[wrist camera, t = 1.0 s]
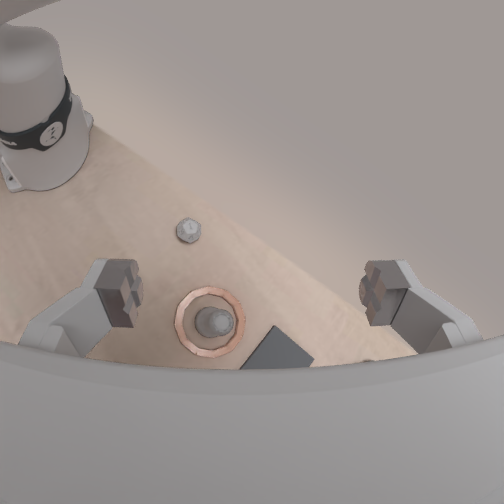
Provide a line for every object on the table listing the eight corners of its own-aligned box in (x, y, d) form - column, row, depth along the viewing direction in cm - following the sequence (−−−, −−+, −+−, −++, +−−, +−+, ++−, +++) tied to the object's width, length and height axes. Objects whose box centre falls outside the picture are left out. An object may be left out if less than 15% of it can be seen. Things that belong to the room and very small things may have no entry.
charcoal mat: (225, 386, 41) (226, 387, 40) (273, 325, 46) (275, 325, 45) (268, 417, 42) (270, 418, 41) (312, 358, 46) (314, 359, 46)
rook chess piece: (189, 329, 41) (198, 331, 34) (202, 301, 43) (213, 297, 35) (216, 342, 42) (231, 347, 35) (229, 315, 44) (246, 313, 36)
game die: (197, 220, 45) (201, 213, 43) (200, 243, 45) (204, 238, 42) (175, 222, 44) (176, 215, 41) (177, 246, 43) (179, 241, 41)
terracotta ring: (160, 325, 40) (160, 325, 39) (205, 273, 44) (207, 272, 43) (214, 369, 41) (215, 370, 40) (255, 318, 45) (257, 318, 44)
